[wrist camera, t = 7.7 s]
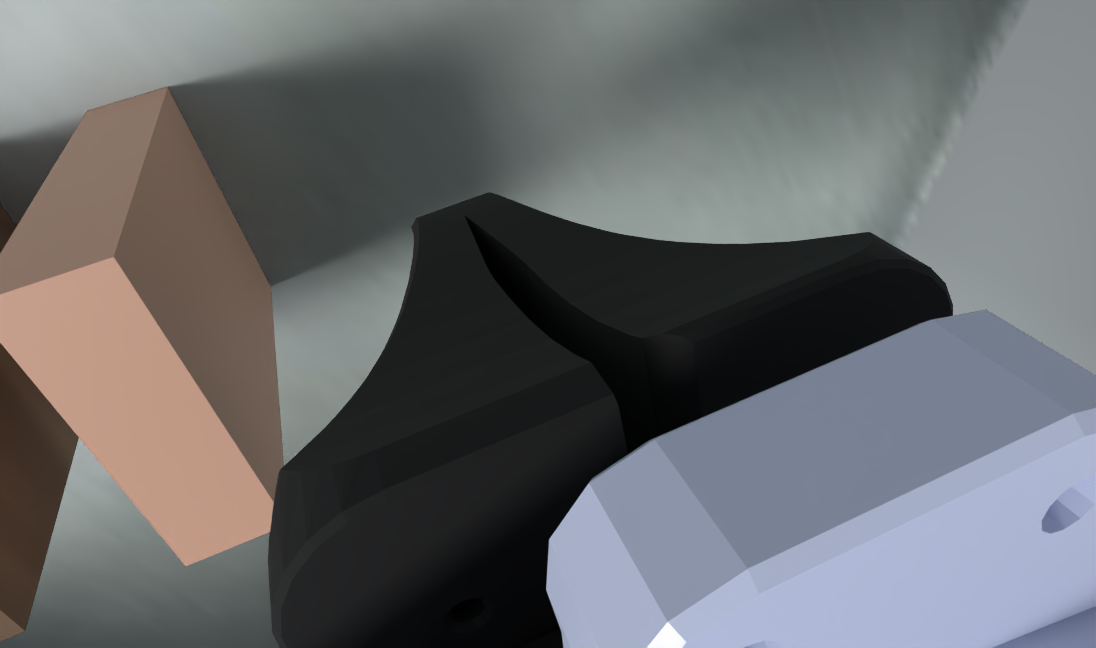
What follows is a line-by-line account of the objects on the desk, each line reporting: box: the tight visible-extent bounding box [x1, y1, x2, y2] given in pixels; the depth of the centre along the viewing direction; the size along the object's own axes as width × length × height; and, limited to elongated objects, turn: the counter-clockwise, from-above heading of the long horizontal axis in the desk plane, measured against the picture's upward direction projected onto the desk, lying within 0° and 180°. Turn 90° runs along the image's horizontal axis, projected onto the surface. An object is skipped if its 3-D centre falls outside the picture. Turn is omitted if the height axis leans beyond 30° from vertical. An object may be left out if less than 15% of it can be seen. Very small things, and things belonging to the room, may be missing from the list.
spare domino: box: [0, 87, 284, 566], centre depth 13 cm, size 2×5×8 cm, turn 12°
